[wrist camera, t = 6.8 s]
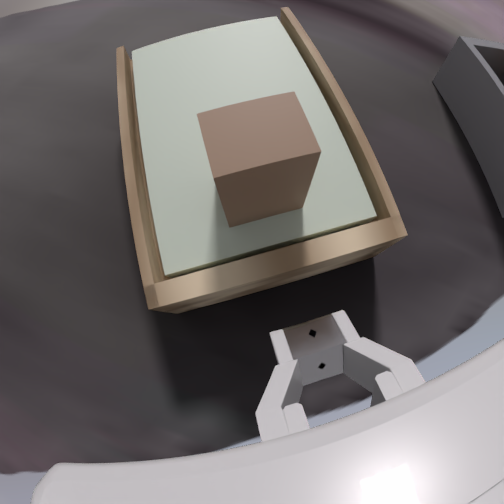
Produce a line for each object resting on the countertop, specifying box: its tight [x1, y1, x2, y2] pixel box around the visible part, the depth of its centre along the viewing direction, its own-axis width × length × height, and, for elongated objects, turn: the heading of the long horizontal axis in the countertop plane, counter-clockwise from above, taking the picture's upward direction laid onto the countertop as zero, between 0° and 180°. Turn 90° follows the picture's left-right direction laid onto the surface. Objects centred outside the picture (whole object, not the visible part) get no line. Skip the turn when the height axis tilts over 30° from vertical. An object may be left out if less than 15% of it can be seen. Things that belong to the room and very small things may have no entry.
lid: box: [132, 16, 377, 278], centre depth 16 cm, size 12×18×7 cm, turn 16°
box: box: [117, 7, 407, 314], centre depth 21 cm, size 14×20×6 cm
